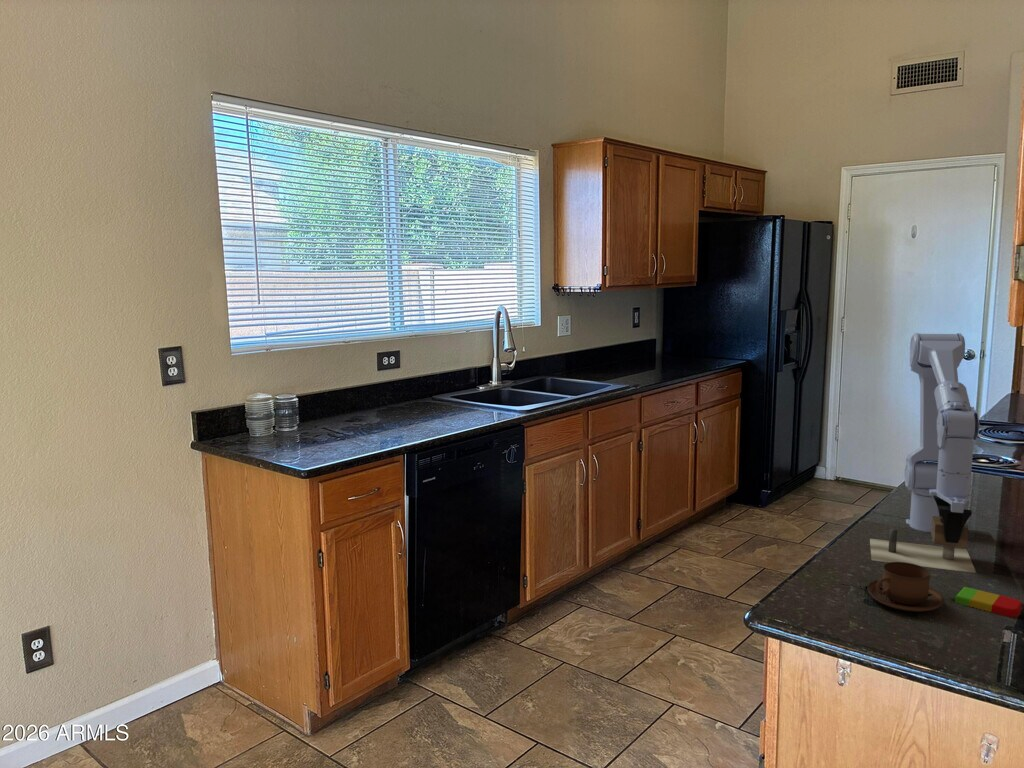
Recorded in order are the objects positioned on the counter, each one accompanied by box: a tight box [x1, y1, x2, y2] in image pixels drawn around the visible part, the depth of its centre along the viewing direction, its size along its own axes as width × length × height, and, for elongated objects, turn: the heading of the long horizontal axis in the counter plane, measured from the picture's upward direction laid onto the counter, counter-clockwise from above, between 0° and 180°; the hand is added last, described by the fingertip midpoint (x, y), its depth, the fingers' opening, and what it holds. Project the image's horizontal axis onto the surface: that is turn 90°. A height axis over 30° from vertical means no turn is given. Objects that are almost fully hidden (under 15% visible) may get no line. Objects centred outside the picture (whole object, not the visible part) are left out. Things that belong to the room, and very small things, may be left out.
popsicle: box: [954, 586, 1023, 618], centre depth 135 cm, size 6×15×2 cm, turn 46°
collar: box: [930, 516, 969, 548], centre depth 151 cm, size 6×6×4 cm
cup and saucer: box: [867, 562, 945, 613], centre depth 135 cm, size 12×12×6 cm
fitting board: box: [869, 528, 977, 574], centre depth 154 cm, size 13×18×6 cm
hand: (949, 537), depth 151 cm, fingers closed on collar, 6 cm apart
